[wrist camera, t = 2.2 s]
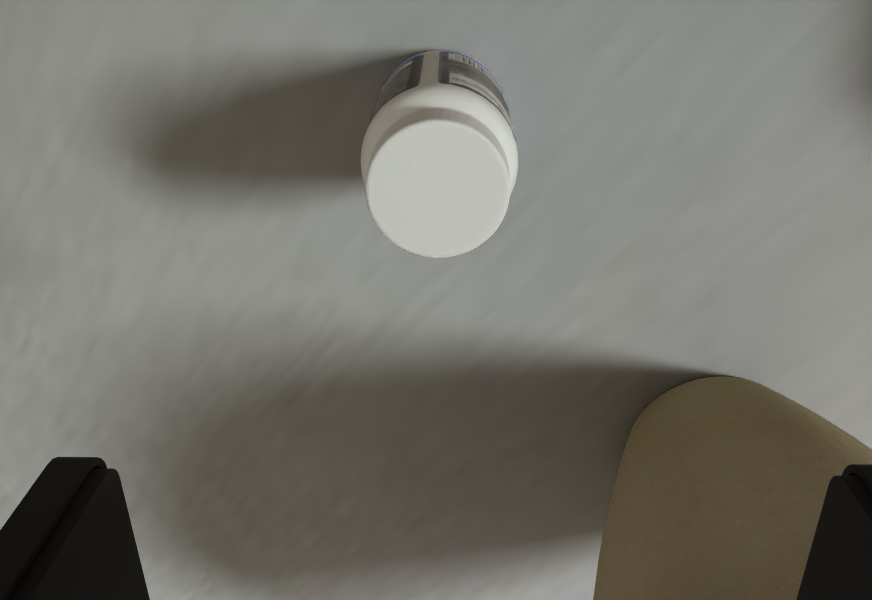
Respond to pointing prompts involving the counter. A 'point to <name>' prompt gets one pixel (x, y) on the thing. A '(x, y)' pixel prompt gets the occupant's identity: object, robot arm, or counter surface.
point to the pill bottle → (439, 155)
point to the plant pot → (719, 495)
